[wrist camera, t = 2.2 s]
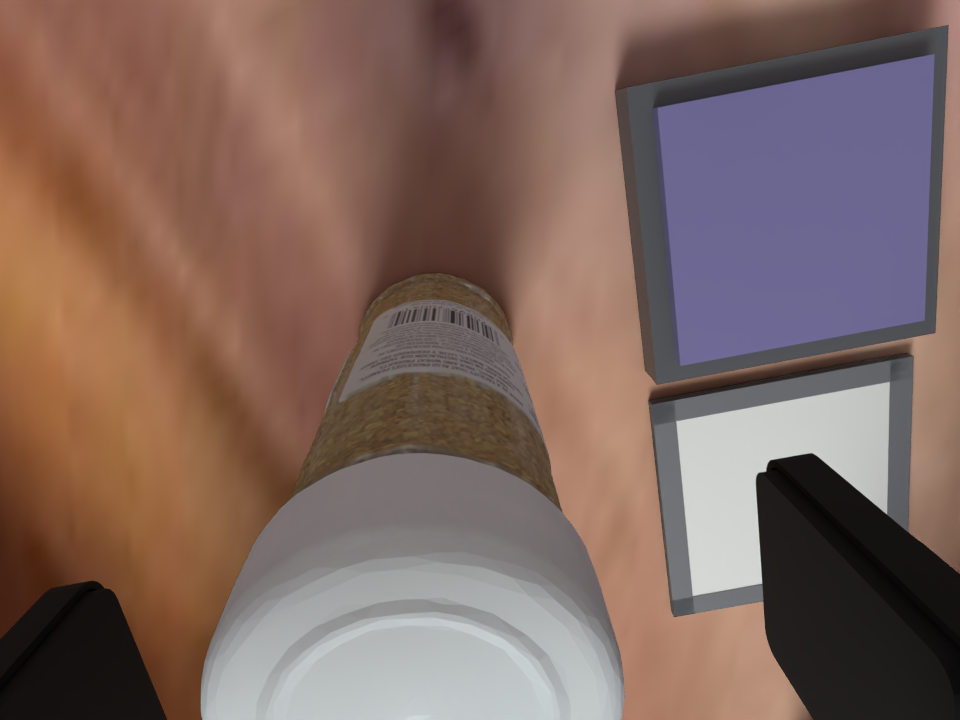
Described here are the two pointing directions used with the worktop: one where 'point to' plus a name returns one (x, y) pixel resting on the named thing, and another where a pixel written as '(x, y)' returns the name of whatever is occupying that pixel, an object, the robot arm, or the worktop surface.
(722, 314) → the ink pad
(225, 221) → the worktop surface
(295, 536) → the sprinkles bottle
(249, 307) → the worktop surface
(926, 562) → the robot arm
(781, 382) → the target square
